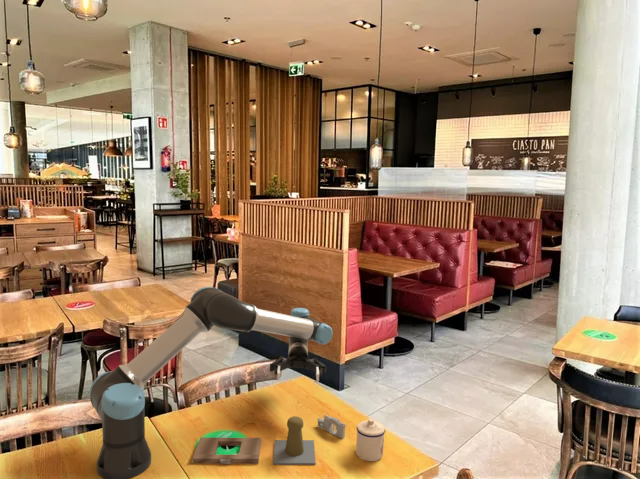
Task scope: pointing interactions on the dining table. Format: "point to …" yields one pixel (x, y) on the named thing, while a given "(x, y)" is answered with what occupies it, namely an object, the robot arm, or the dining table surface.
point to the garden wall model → (328, 422)
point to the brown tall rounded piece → (294, 437)
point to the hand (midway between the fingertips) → (298, 377)
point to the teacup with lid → (370, 440)
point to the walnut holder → (208, 455)
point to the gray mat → (302, 459)
